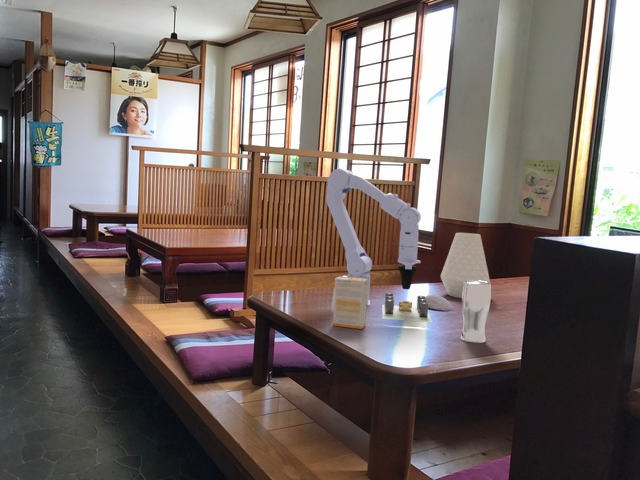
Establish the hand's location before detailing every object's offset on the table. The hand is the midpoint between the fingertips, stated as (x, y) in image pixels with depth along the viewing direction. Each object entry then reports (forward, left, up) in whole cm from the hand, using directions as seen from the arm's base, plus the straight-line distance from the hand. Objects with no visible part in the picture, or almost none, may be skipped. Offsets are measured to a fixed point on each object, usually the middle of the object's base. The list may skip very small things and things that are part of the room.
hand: (405, 288), depth 174 cm
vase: (+23, +32, -7) cm, 40 cm away
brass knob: (0, -4, -6) cm, 7 cm away
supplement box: (-16, -27, -7) cm, 33 cm away
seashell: (+11, +4, -6) cm, 13 cm away
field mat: (0, -8, -7) cm, 11 cm away
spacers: (0, -6, -6) cm, 8 cm away
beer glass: (+16, -32, -7) cm, 37 cm away
